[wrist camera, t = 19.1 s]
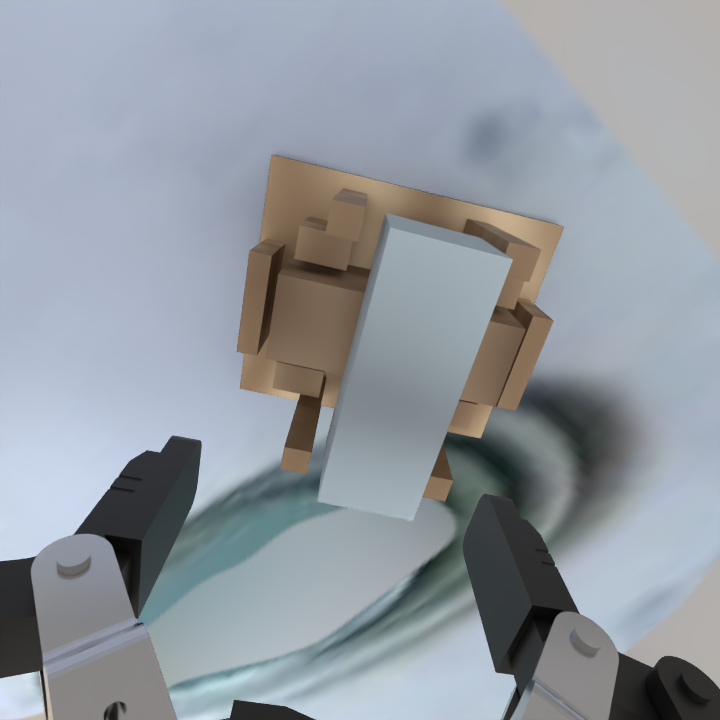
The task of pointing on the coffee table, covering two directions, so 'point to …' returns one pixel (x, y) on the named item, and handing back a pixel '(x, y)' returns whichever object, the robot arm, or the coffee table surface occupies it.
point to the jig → (357, 247)
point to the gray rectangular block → (408, 364)
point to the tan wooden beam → (339, 319)
